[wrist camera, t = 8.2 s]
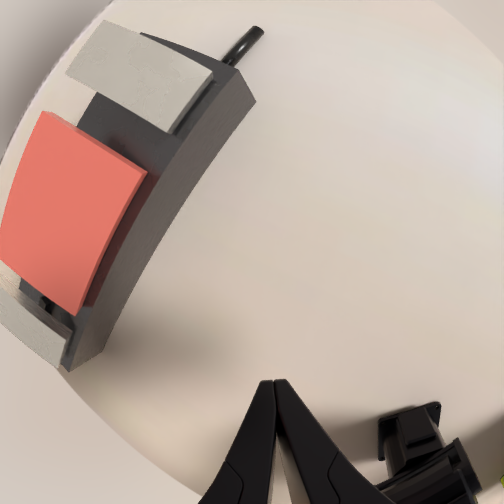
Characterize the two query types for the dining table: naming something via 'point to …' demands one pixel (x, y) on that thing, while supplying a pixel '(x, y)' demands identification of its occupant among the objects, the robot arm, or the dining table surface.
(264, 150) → the dining table surface
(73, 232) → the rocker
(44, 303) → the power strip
